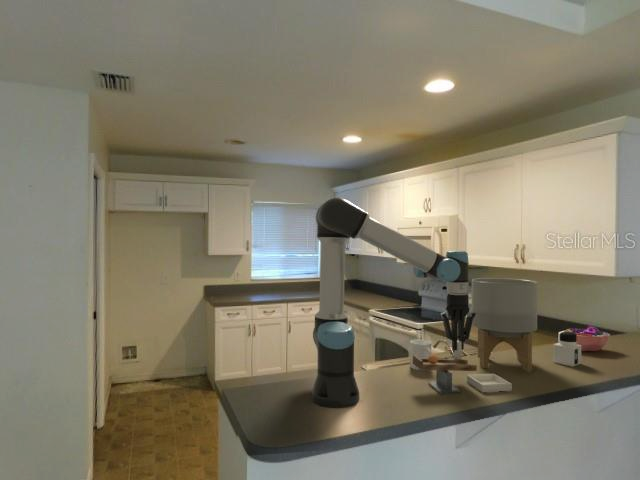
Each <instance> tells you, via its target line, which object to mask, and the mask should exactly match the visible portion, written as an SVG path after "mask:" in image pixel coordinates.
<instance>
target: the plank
mask: <svg viewBox="0 0 640 480" xmlns="http://www.w3.org/2000/svg"><path fill="white" fill-rule="evenodd" d="M413 364H414V365H415V366H416V367H417V368H419V369H420V370H425V371H436V370H447V371H449V372H450V371H454V372H456V371H458V372H477V371H478V370H477V368H478V365H477V364H471V363H469V361H468V359H462V360H457V359H455V358H454V356H453V357H450V356H447V357H445V358H438V362H437V363H436V364H431V363H429V361H428V359H424V358H418V357H417V356H415V355H413ZM420 370H419V371H420Z"/></svg>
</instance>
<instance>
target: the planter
mask: <svg viewBox="0 0 640 480" xmlns="http://www.w3.org/2000/svg"><path fill="white" fill-rule="evenodd" d="M471 312H473V313H475V314H476V315H475V317H474V318H473V322H472V327H475V328H477V357H478V358H479V367H480V368H482V369H486V368H489V361H490V358H491V354H492V352H493V350H494V349H495V348H496V346H498V345H499V344H500V343H503V342H504V343H506V344H508V345H509V346H511V347H512V348H513V349H514V351H515V352H516V357H517V359H516V360H517V361H520V362H521V366H522V371H523V372H527V373H531V372H533V371H532V370H533V364H532V363H533V362H532V361H533V359H532V358H533V333H532V332H535V331H537V330H538V281H535V280H529V279H522V278H521V279H520V278H508V277H507V278H504V277H503V278H502V277H499V278H498V277H479V278H472V279H471Z"/></svg>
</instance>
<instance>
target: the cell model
mask: <svg viewBox="0 0 640 480" xmlns="http://www.w3.org/2000/svg"><path fill="white" fill-rule="evenodd" d="M563 331H569V332H573V333H575V334H576V335H577V345H581V352H598V351H600V350H601V349H603V348H604V347H605V346H606V345H607V344H608V342H609V340H610V338H611V334H610V333H608V332H605V331H600V330H599V329H598V328H597V327H595V326H594V325H587V327H586V328H576V327H569V328H567V329H565V330H563Z"/></svg>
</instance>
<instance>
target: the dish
mask: <svg viewBox="0 0 640 480" xmlns="http://www.w3.org/2000/svg"><path fill="white" fill-rule="evenodd" d="M466 383H467V384H468V385H470V386H472V387H473V388H475V389H476V390H477V391H479V392H481V393H482V394H484V393H483V392H487V393H500V392H499V391H506V392H512V391H513V390H512V389H513V387H512V386H513V385H512V383H511V382H509V381H507V380H506V379H505V378H503V377H501V376H499V375H498V374H496V373H482V374H481V373H480V374H479V373H478V374H476V373H475V374H466Z"/></svg>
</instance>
